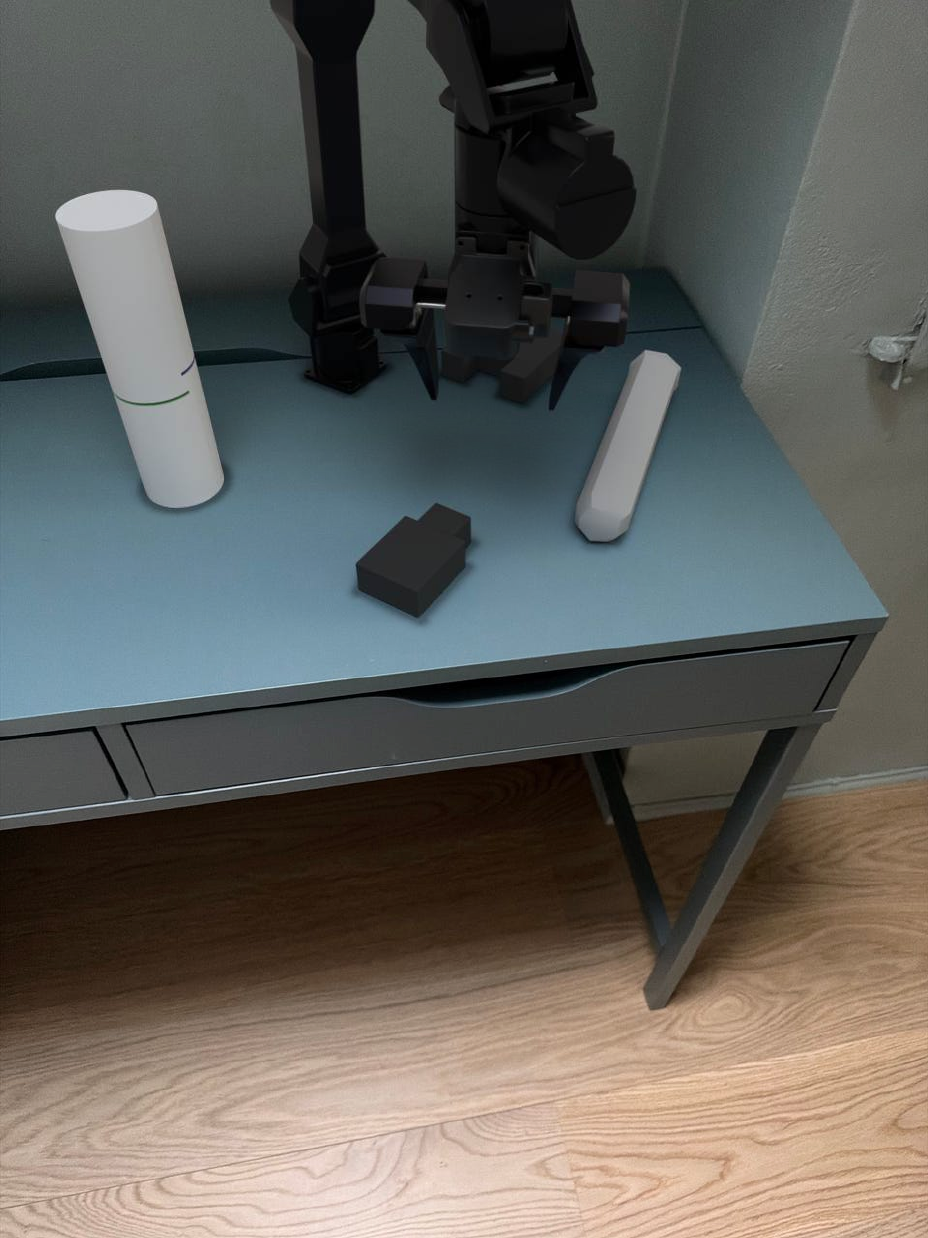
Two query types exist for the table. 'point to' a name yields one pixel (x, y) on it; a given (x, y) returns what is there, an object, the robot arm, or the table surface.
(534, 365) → the notch pad
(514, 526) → the table surface
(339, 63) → the robot arm
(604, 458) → the tube
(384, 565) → the pad
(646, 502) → the table surface
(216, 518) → the table surface
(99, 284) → the cylindrical container
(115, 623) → the table surface
